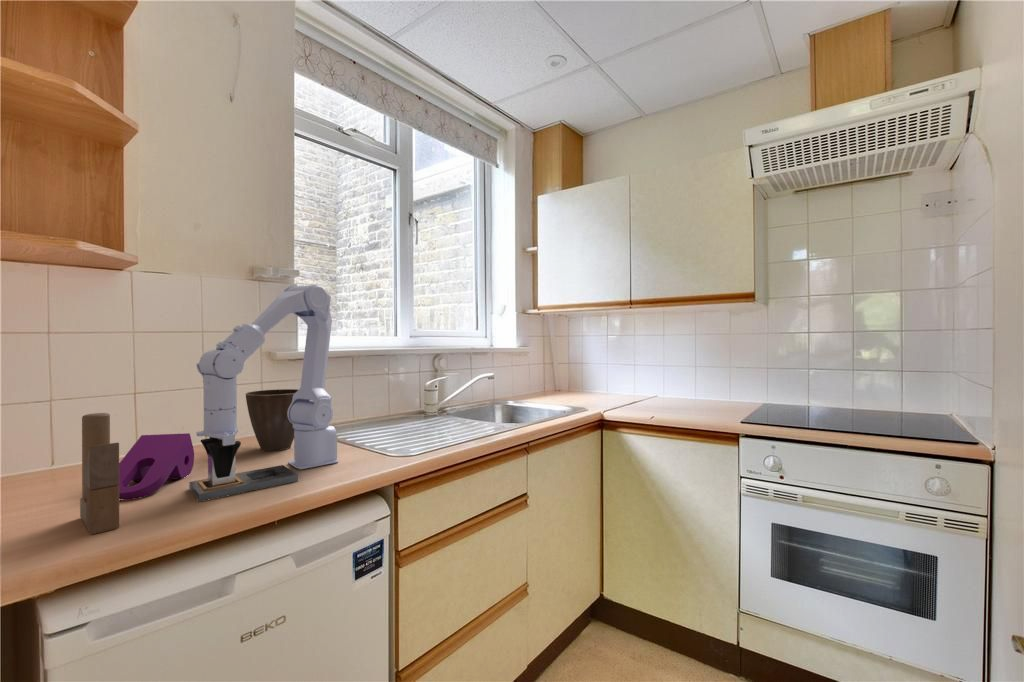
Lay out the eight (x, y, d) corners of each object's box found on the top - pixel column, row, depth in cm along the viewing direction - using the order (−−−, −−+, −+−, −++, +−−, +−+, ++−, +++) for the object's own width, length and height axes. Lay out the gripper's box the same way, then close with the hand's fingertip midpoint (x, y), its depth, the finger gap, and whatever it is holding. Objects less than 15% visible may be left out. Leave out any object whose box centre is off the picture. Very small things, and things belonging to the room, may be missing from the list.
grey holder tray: (282, 471, 106) (282, 464, 106) (298, 481, 98) (298, 473, 98) (189, 489, 93) (189, 481, 93) (199, 502, 86) (199, 493, 86)
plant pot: (237, 448, 127) (237, 391, 127) (292, 439, 138) (292, 387, 138) (256, 458, 117) (256, 396, 117) (314, 447, 128) (314, 391, 128)
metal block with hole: (230, 481, 96) (230, 450, 96) (235, 485, 93) (235, 453, 93) (208, 485, 93) (208, 453, 93) (212, 490, 90) (212, 457, 90)
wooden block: (89, 535, 71) (89, 422, 71) (79, 518, 78) (79, 414, 78) (120, 528, 74) (120, 418, 74) (108, 512, 81) (107, 411, 81)
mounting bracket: (161, 522, 91) (196, 462, 107) (152, 491, 87) (190, 433, 103) (106, 526, 89) (150, 464, 104) (93, 494, 85) (141, 435, 101)
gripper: (190, 406, 95) (190, 470, 95) (204, 415, 85) (204, 487, 85) (228, 403, 100) (228, 464, 100) (247, 410, 89) (247, 479, 90)
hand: (220, 474), depth 93 cm, fingers closed on metal block with hole, 4 cm apart
